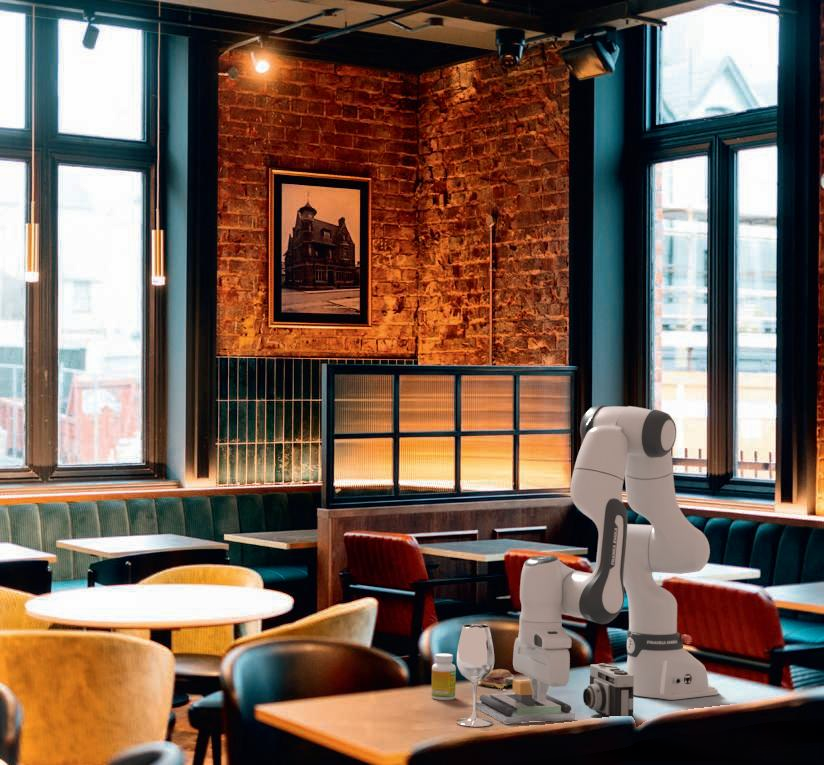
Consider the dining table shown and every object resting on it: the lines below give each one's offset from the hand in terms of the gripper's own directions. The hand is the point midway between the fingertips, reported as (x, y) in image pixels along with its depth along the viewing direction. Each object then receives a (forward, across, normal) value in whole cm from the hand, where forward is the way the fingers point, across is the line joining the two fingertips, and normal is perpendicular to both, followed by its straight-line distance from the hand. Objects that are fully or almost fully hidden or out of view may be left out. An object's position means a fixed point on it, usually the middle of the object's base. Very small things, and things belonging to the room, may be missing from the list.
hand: (539, 700), depth 276 cm
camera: (+5, -3, +17) cm, 18 cm away
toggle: (+2, -7, 0) cm, 8 cm away
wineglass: (+5, -2, -14) cm, 15 cm away
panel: (+4, -7, 0) cm, 8 cm away
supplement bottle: (+4, -27, -11) cm, 30 cm away
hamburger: (+5, -36, +7) cm, 37 cm away
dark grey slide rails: (+3, -7, 0) cm, 8 cm away
